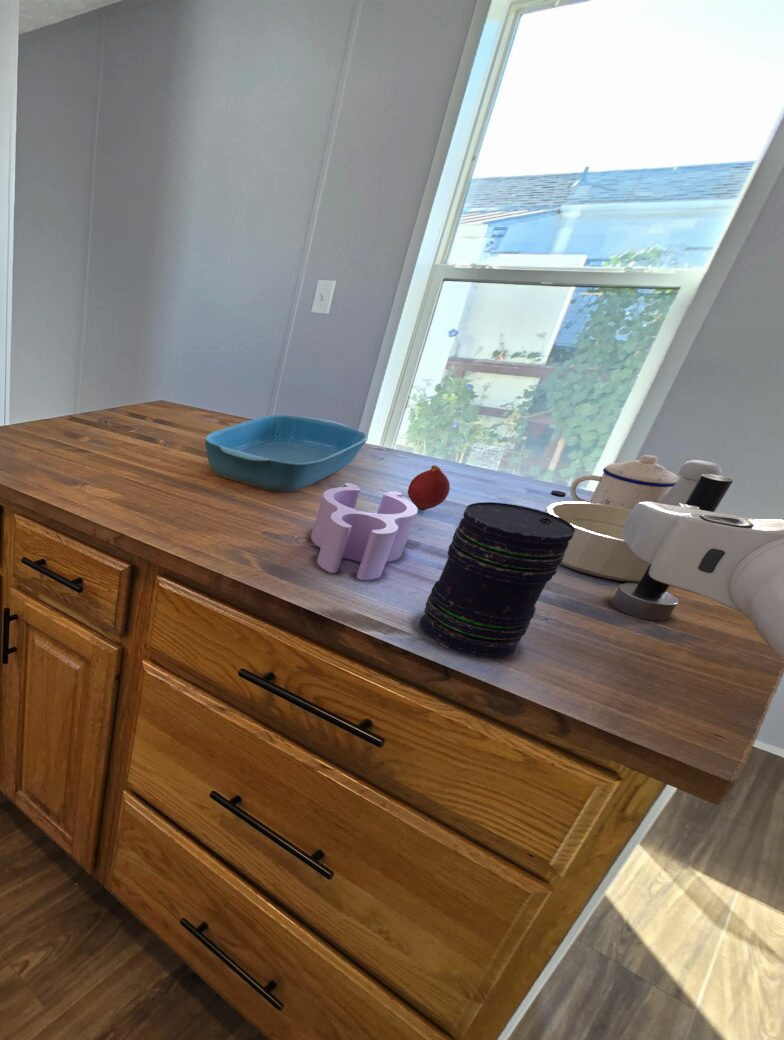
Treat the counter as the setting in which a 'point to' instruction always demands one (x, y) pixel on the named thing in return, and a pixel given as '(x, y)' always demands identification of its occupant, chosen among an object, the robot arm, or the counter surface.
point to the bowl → (599, 541)
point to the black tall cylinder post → (649, 593)
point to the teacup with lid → (629, 483)
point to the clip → (361, 530)
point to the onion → (429, 488)
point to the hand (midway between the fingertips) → (744, 521)
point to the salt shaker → (689, 480)
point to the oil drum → (494, 578)
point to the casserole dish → (282, 451)
